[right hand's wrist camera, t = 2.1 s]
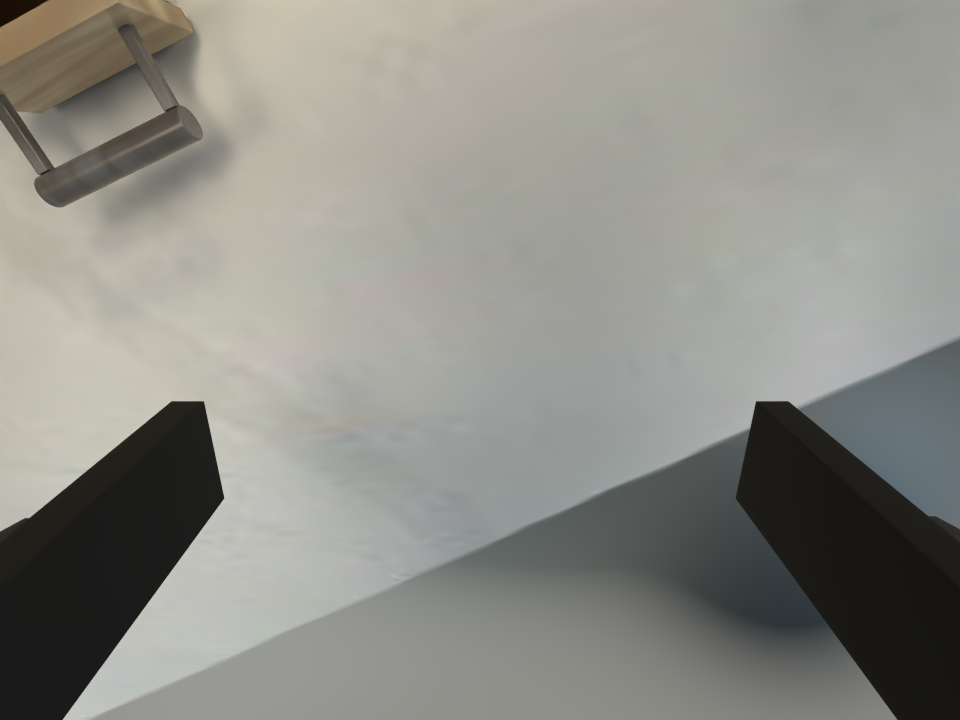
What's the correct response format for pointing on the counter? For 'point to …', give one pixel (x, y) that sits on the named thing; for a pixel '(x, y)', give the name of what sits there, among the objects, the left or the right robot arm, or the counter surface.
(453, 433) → the counter surface
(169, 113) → the drawer
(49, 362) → the counter surface
